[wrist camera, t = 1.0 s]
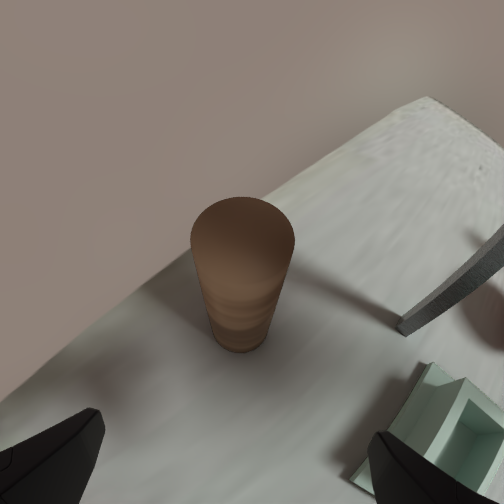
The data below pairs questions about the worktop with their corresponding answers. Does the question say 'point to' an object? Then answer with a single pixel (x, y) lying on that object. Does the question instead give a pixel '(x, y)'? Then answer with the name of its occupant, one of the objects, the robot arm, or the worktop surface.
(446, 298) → the grey table frame
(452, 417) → the socket block
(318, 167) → the worktop surface
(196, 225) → the peg
